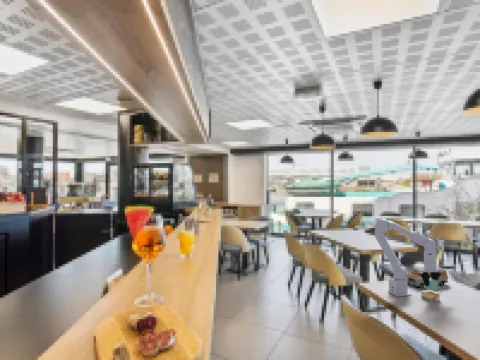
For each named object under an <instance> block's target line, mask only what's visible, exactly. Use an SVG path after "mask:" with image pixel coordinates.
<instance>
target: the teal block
mask: <svg viewBox="0 0 480 360" xmlns="http://www.w3.org/2000/svg"><path fill="white" fill-rule="evenodd" d="M438 287H439V284H438V281H437V280H434V279H432V278H430V280H429V286H425V285H424V288H423V289H425V290H432V291H437V290H438ZM438 291H439V290H438Z"/></svg>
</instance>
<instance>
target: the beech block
mask: <svg viewBox="0 0 480 360" xmlns="http://www.w3.org/2000/svg"><path fill="white" fill-rule="evenodd" d="M440 295H441V293H439V292H436V291H435V290H429V289H424V290H421V296H420V297H421V298H422V299H424V300H425V301H429V302H431V303H432V302H434V303H435V302H438V301H440V299H441V297H440Z"/></svg>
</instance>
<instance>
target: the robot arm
mask: <svg viewBox="0 0 480 360" xmlns="http://www.w3.org/2000/svg"><path fill="white" fill-rule="evenodd" d="M387 230H388V231H389V230H390V231H392V230H394V231H396V232H398V233H401V234H402V235H405V236H406V237H408V238H409V240H410V241H411V242H413V243H415V244H417V245H420V246H421V247H423V248H424V251H423V267H424V268H421V267H420V268H421V269H418V273H420V275H421V276H422V279H423V281H424V285H425V286H429V280H430V276H431V278H432V279H434V280H437V281H438V279H439V277H440V276H441V273H439V272H442V269H443V268H442V267H438V266H437V253H436V252H437V250H436V249H437V242H436V241H435V239H433V238H431V237H429V236H426V235H424V234H422V233H420V231H415V230H414V231H411V230H410V229H407V228H405V227H403V226H401V225H400V224H398V223H396V222H395V221H393V220H388V219H387V218H385V217H384V218H383V217H382V218H380V219H379V220H377V221H376V223H375V226H374V238H375V239H376V241H377V243H378V245H379V246H380V247H381V250H382V252H383V253H384V255H385V256H386V258H387V260H388V262H389V264H390V266H391V269H392V271H393V272H392V273H393V277H391V278H390V279H389V280H388V290H387V292H388V293H390V294H391V295H394V296H395V297H406V296H407V297H408V296H412V294H411V293H410V292H408V278H407V277H406V274H408V273H407V272H408V270H407V267H406V266H405V265H403V264H402V262H401V261H400V260H399V258H398V257H397V255H396V252H394V250H393V248H392V247H391V245H390V242H389V241H388V240H387V237H385V234H386V231H387ZM436 267H438V268H436ZM428 273H430V275H429V274H428Z"/></svg>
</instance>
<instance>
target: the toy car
mask: <svg viewBox="0 0 480 360" xmlns="http://www.w3.org/2000/svg"><path fill="white" fill-rule="evenodd" d="M421 268H424V266H423V267H415V268H413V269H412V270H411V272H410V273H406V277H407V278H408V283H410V284H411V285H413V286H417V288H418V289H420V288H422V289H425V288H424V281H423V279H422V276H421V275H420V273H418V269H421ZM436 268H438V266H436ZM439 273H441V276H440V277H439V279H438V287H444V286H445V284H448V283H449V275H448V273H447V270H446V269H444V268H442V272H439ZM428 274H429V275H430V273H428ZM430 278H431V276H430ZM443 285H444V286H443Z"/></svg>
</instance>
